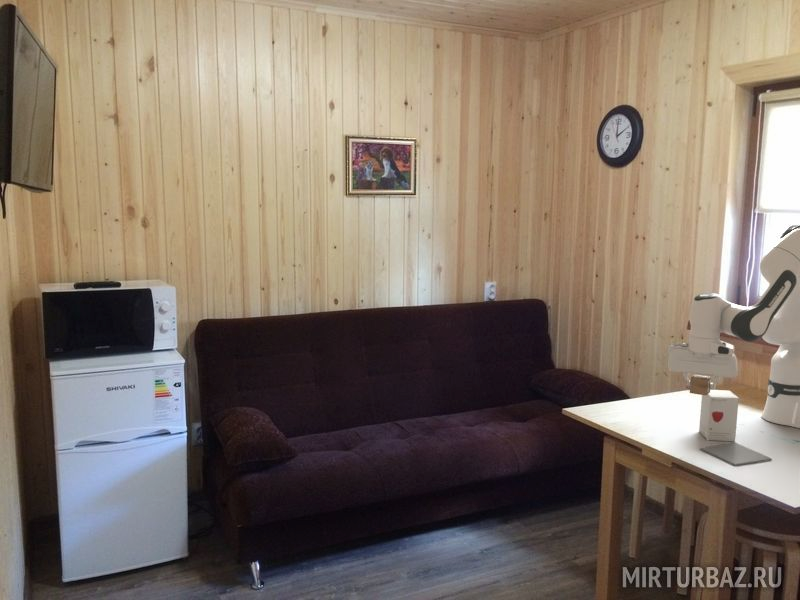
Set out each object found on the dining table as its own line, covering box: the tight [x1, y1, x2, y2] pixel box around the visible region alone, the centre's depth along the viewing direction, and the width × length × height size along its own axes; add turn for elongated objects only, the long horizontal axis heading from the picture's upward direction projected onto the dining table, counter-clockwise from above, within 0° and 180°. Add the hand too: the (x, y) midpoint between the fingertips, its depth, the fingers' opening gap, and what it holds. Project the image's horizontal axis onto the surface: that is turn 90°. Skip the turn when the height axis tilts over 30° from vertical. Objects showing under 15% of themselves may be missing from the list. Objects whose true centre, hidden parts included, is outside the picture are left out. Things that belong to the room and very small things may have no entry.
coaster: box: [699, 442, 773, 467], centre depth 203 cm, size 14×14×1 cm
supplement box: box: [698, 389, 740, 442], centre depth 218 cm, size 9×9×15 cm
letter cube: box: [689, 373, 712, 396], centre depth 208 cm, size 5×5×5 cm
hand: (700, 387), depth 209 cm, fingers closed on letter cube, 5 cm apart
